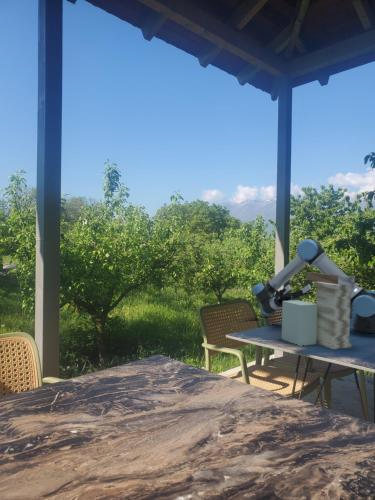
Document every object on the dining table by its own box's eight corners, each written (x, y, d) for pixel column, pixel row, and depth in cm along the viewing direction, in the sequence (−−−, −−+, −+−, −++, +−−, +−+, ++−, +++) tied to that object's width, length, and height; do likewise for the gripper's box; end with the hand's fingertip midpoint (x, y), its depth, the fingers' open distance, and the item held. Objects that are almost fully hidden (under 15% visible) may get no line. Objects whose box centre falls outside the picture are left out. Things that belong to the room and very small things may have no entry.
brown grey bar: (312, 279, 208) (312, 272, 208) (354, 285, 183) (354, 276, 183) (306, 279, 207) (306, 272, 207) (347, 285, 181) (348, 277, 181)
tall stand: (330, 340, 201) (332, 281, 201) (352, 347, 189) (354, 284, 188) (312, 342, 197) (313, 282, 196) (332, 349, 184) (334, 285, 183)
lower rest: (297, 337, 205) (298, 300, 205) (316, 344, 193) (317, 304, 192) (281, 339, 201) (282, 301, 201) (299, 345, 189) (300, 305, 188)
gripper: (298, 306, 235) (320, 292, 218) (262, 308, 225) (283, 293, 208) (294, 294, 238) (315, 280, 221) (259, 296, 228) (279, 280, 211)
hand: (300, 286), depth 215 cm, fingers open, 13 cm apart
